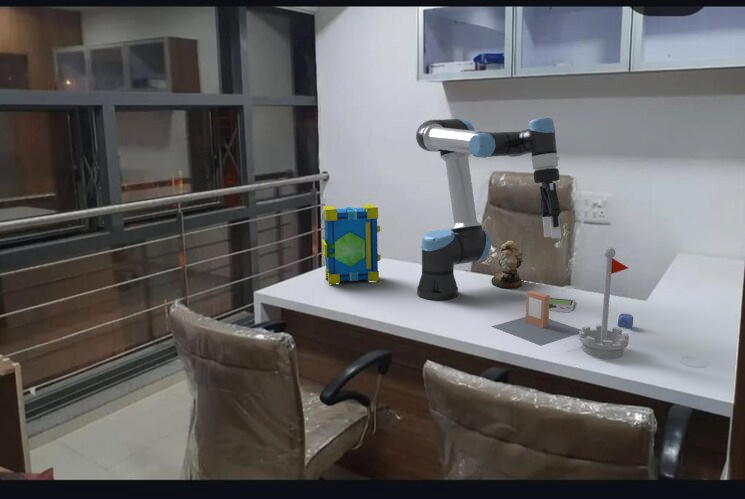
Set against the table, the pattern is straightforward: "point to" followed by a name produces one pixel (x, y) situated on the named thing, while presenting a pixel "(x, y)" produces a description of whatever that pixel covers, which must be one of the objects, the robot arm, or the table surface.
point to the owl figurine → (508, 266)
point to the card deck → (537, 309)
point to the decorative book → (351, 243)
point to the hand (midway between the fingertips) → (552, 237)
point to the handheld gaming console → (561, 305)
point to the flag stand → (605, 321)
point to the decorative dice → (625, 321)
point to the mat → (537, 331)
